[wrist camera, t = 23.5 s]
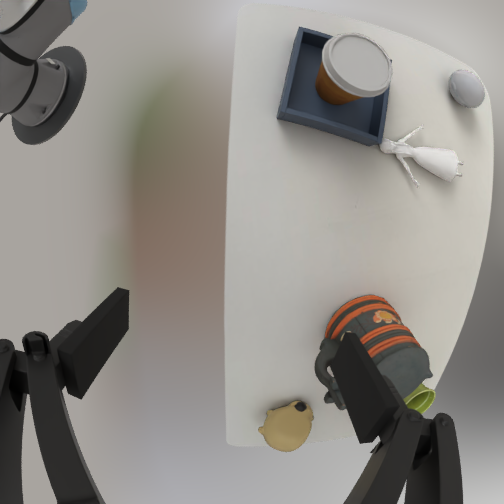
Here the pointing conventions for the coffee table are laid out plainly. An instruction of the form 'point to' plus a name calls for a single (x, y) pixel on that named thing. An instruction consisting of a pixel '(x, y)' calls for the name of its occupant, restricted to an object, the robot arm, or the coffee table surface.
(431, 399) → the plant pot
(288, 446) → the toy pig
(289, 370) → the coffee table surface
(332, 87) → the disposable coffee cup
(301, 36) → the bin
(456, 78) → the bath bomb
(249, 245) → the coffee table surface
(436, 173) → the woman figurine
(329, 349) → the lidded tankard
